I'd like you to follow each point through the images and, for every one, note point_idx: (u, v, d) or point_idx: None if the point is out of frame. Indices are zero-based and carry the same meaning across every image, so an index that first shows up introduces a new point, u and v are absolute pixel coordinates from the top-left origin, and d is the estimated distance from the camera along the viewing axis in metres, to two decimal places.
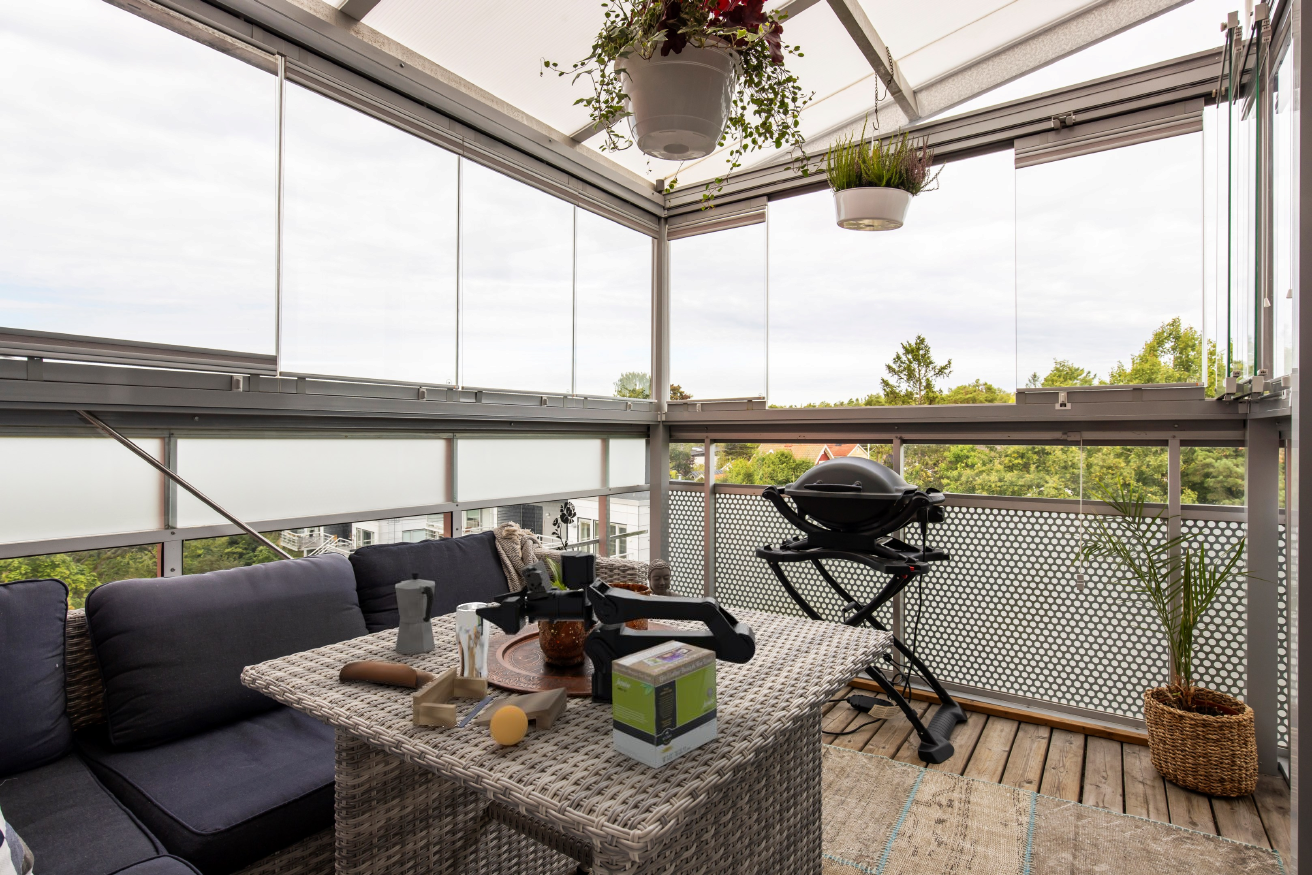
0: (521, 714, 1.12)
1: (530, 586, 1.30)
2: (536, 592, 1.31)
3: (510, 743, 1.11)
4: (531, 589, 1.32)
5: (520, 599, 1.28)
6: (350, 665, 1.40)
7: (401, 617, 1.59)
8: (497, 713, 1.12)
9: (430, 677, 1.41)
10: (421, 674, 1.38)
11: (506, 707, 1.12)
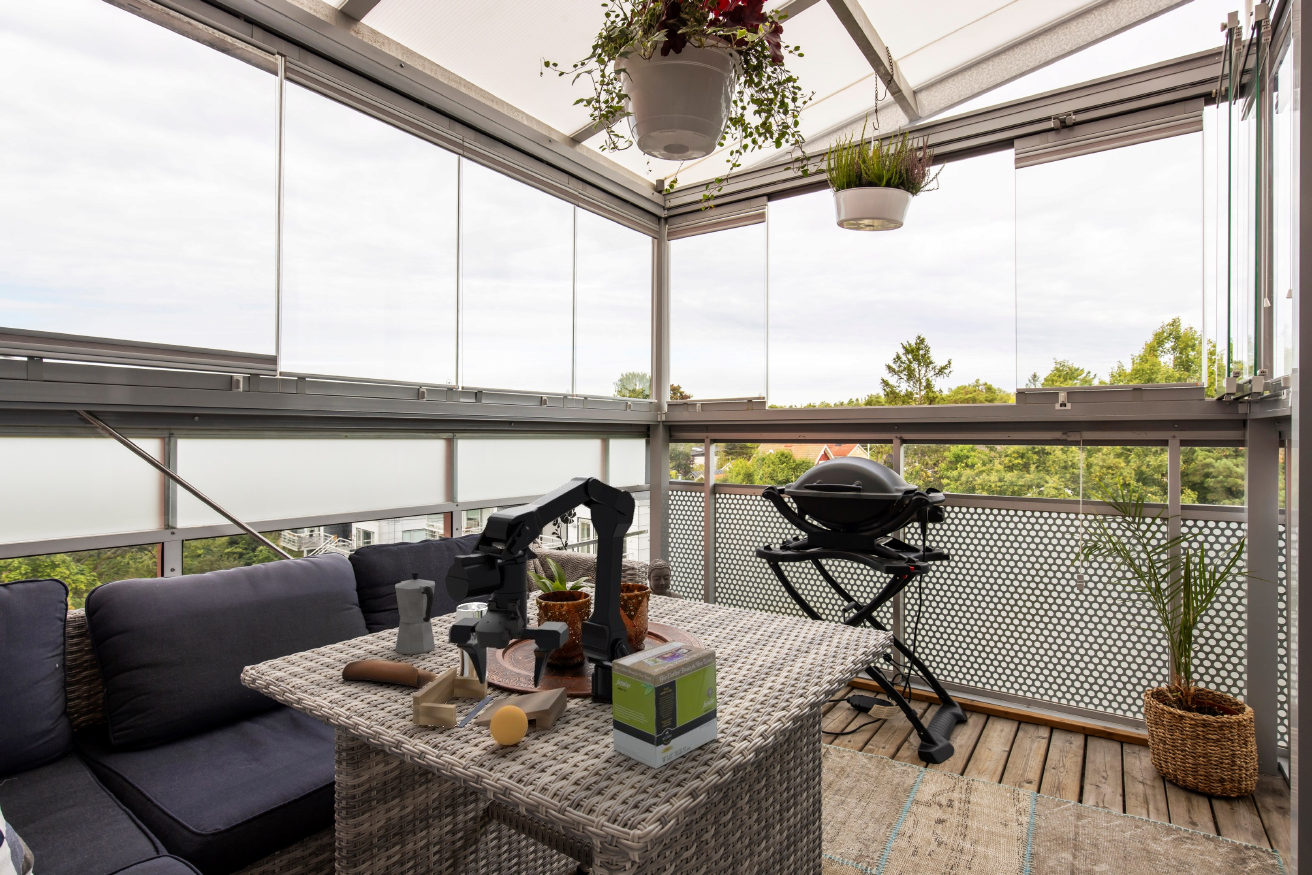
0: (521, 714, 1.12)
1: (523, 628, 1.07)
2: None
3: (510, 743, 1.11)
4: None
5: (540, 634, 1.09)
6: (353, 664, 1.41)
7: (401, 617, 1.59)
8: (497, 713, 1.12)
9: (432, 676, 1.41)
10: (423, 673, 1.39)
11: (506, 707, 1.12)
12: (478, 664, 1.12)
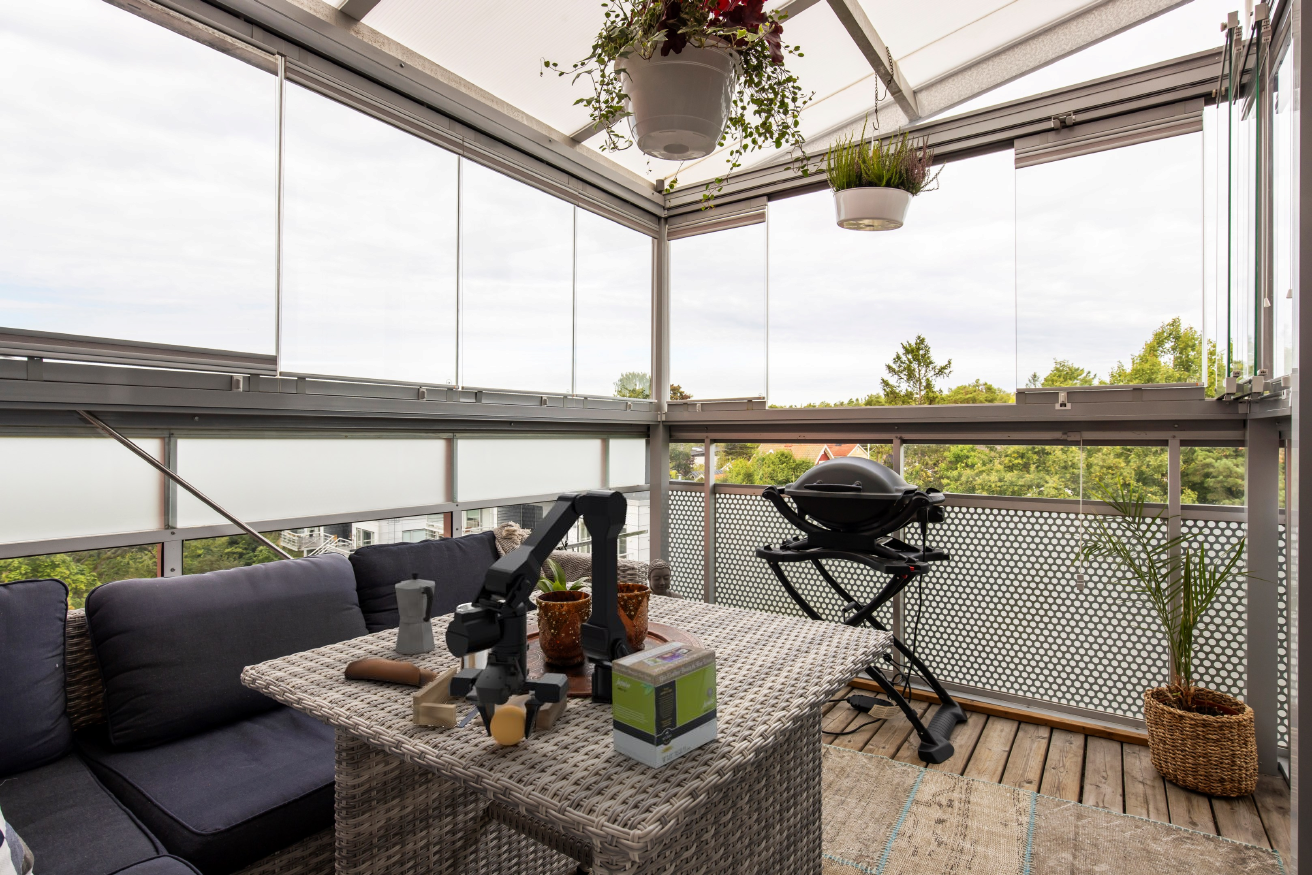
0: (521, 714, 1.12)
1: (523, 683, 1.07)
2: None
3: (510, 743, 1.11)
4: None
5: (540, 687, 1.09)
6: (355, 663, 1.42)
7: (401, 617, 1.59)
8: (497, 713, 1.12)
9: (434, 675, 1.42)
10: (425, 672, 1.39)
11: (506, 707, 1.12)
12: (486, 717, 1.12)
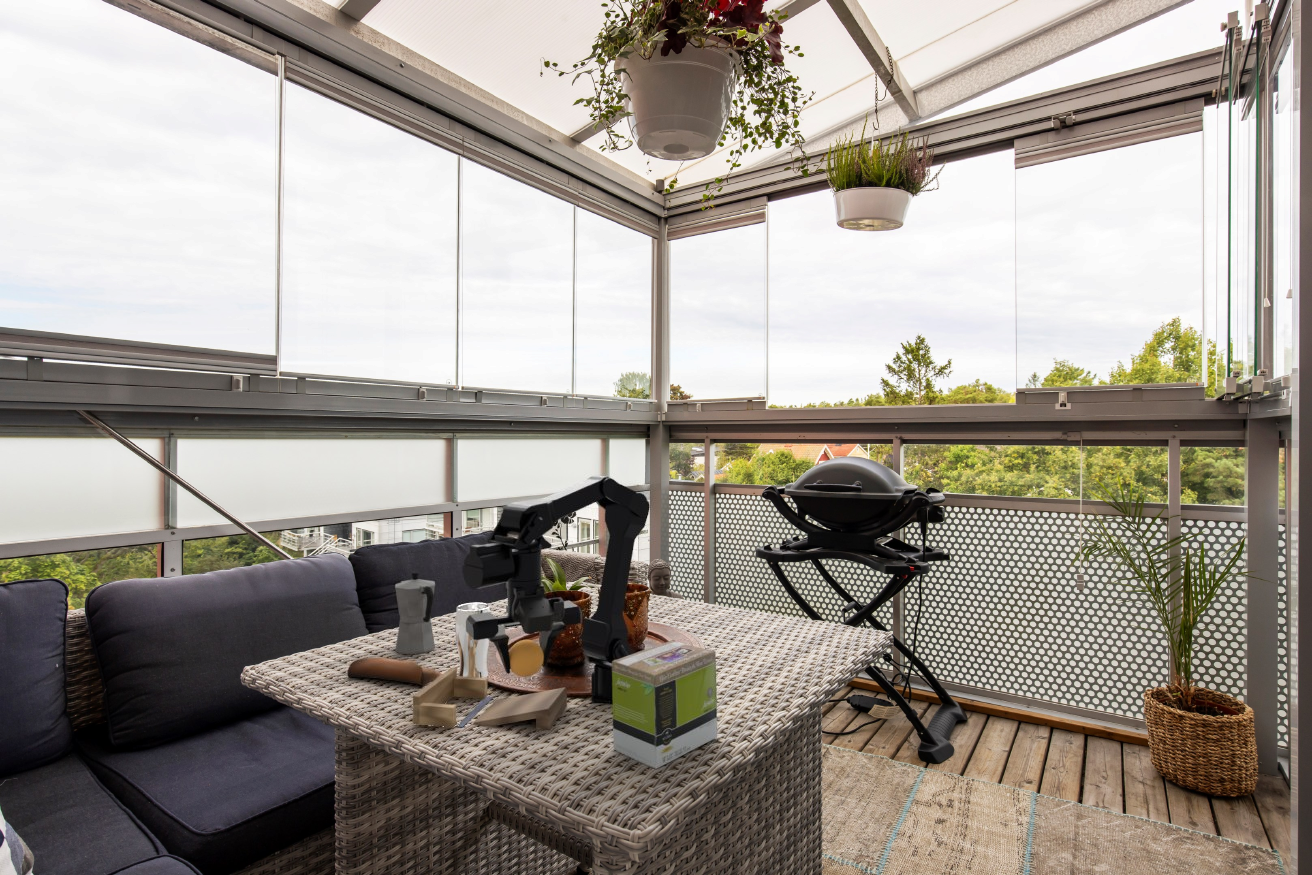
0: None
1: None
2: None
3: (535, 672, 1.16)
4: None
5: (565, 612, 1.17)
6: (358, 661, 1.43)
7: (401, 617, 1.59)
8: (518, 648, 1.15)
9: (436, 674, 1.43)
10: (427, 671, 1.40)
11: (523, 641, 1.16)
12: (508, 654, 1.14)
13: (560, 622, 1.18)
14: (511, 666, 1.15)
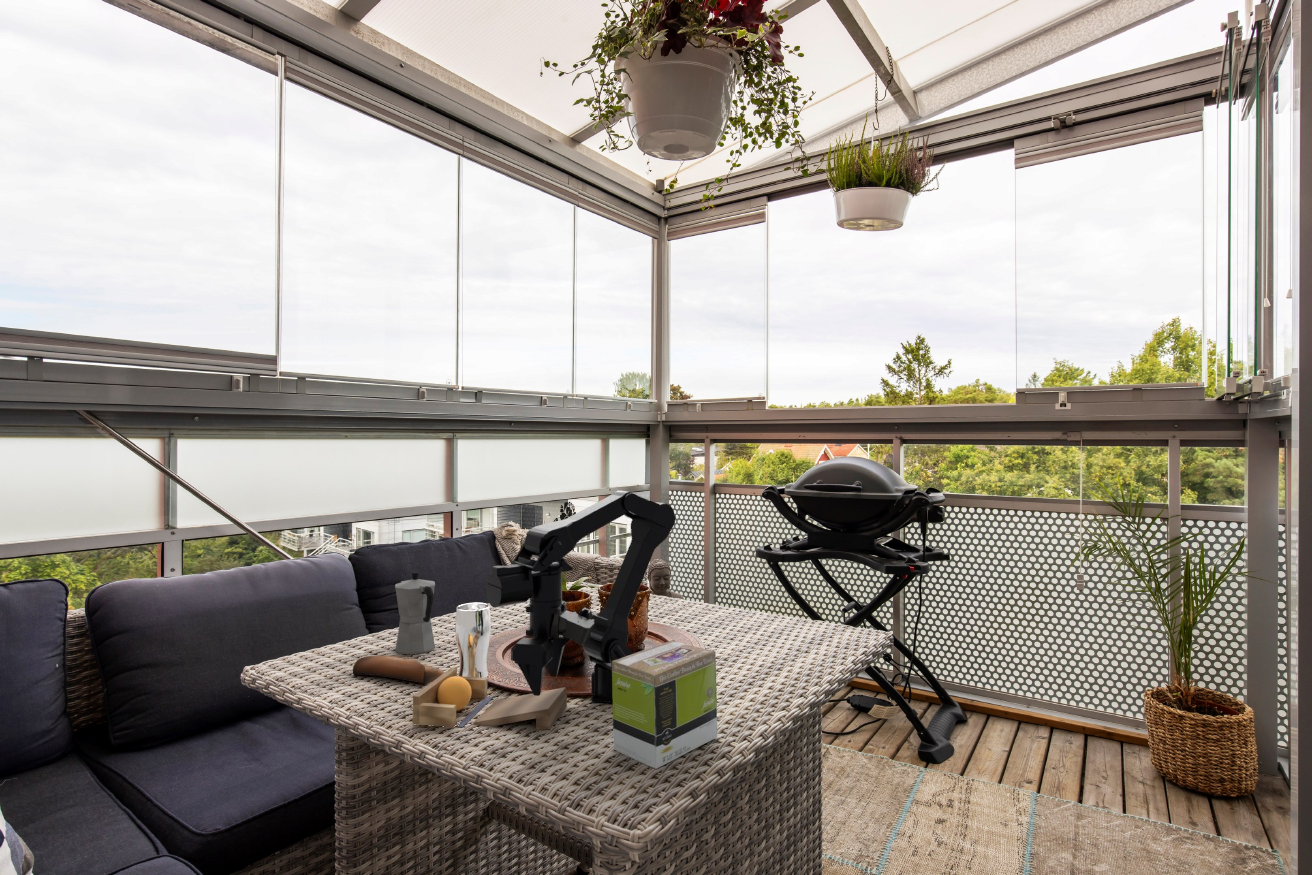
0: None
1: None
2: None
3: None
4: None
5: None
6: (363, 659, 1.44)
7: (401, 617, 1.59)
8: (457, 685, 1.24)
9: (439, 673, 1.43)
10: (430, 670, 1.41)
11: (456, 678, 1.25)
12: None
13: None
14: (452, 703, 1.23)
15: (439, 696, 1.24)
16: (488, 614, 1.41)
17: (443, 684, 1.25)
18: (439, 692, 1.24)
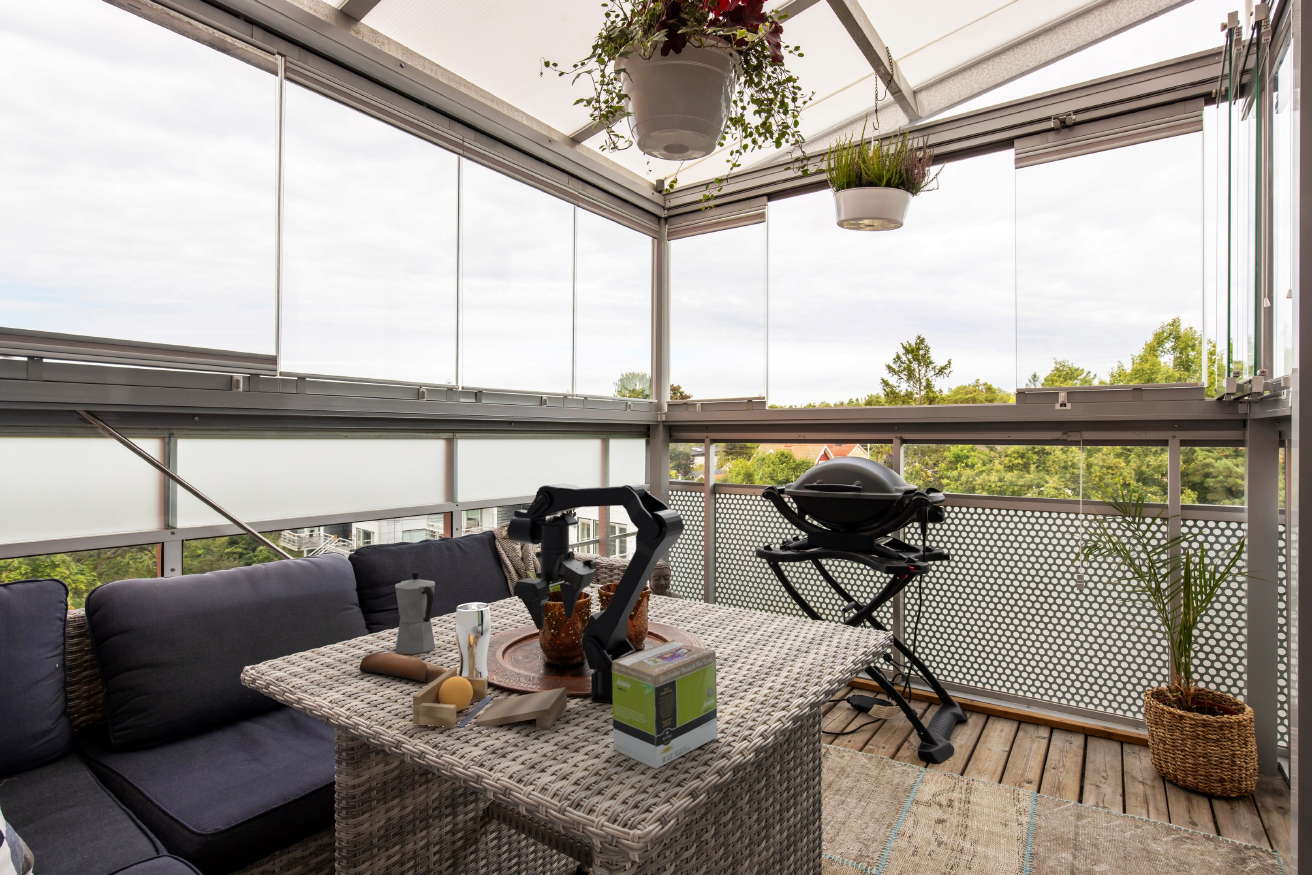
0: None
1: None
2: None
3: None
4: None
5: None
6: (370, 656, 1.46)
7: (401, 617, 1.59)
8: (459, 685, 1.24)
9: (443, 672, 1.44)
10: (433, 669, 1.41)
11: (458, 679, 1.25)
12: (543, 612, 1.35)
13: None
14: (453, 704, 1.23)
15: (440, 695, 1.24)
16: (488, 614, 1.41)
17: (445, 684, 1.25)
18: (441, 691, 1.24)
